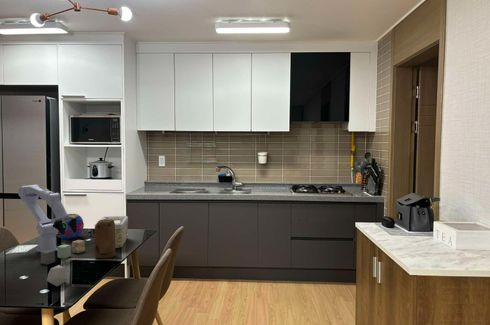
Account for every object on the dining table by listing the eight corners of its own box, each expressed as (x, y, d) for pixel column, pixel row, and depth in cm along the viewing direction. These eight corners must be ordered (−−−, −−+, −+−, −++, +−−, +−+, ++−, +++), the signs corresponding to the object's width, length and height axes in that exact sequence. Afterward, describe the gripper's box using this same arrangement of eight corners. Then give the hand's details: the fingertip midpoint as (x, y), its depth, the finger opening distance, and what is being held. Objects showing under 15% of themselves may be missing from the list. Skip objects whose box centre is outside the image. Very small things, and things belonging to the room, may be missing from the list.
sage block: (57, 257, 197) (57, 246, 196) (64, 255, 201) (64, 244, 200) (63, 258, 195) (63, 247, 195) (70, 256, 199) (70, 245, 199)
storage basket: (123, 248, 213) (122, 223, 212) (93, 250, 210) (93, 224, 209) (129, 237, 236) (128, 215, 236) (103, 238, 234) (102, 216, 233)
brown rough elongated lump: (116, 254, 202) (115, 218, 201) (114, 258, 195) (113, 221, 194) (95, 255, 200) (94, 219, 199) (93, 259, 193) (92, 222, 191)
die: (58, 280, 166) (43, 267, 161) (74, 271, 166) (60, 257, 161) (55, 293, 159) (39, 280, 154) (72, 283, 159) (57, 270, 154)
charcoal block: (41, 263, 187) (40, 252, 187) (48, 260, 192) (48, 249, 191) (47, 264, 186) (47, 253, 185) (55, 261, 190) (54, 250, 189)
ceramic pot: (48, 239, 232) (47, 216, 231) (73, 233, 247) (73, 211, 246) (64, 243, 223) (63, 219, 222) (89, 237, 238) (89, 214, 237)
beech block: (72, 252, 206) (72, 241, 206) (78, 250, 210) (78, 239, 210) (78, 253, 204) (78, 242, 204) (84, 250, 208) (84, 240, 208)
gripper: (52, 208, 194) (62, 230, 190) (75, 207, 207) (85, 227, 203) (44, 216, 196) (54, 237, 192) (67, 214, 209) (77, 234, 205)
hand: (69, 232), depth 198 cm, fingers open, 7 cm apart
